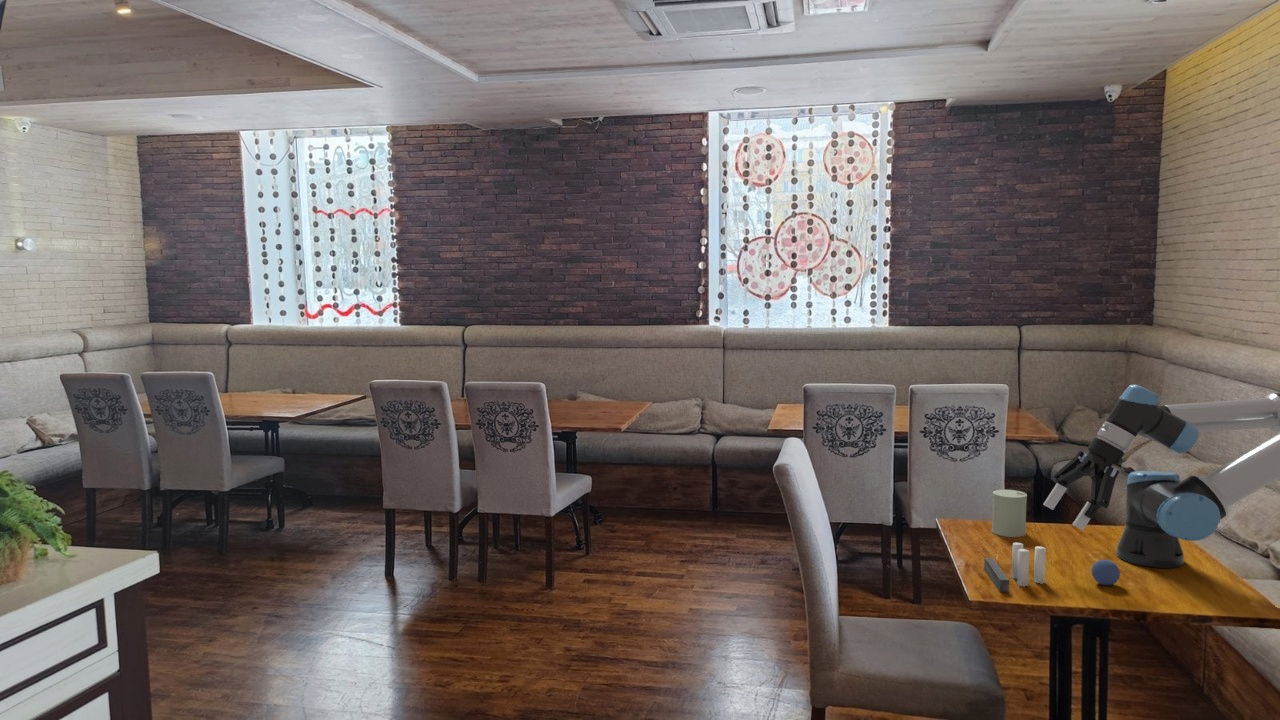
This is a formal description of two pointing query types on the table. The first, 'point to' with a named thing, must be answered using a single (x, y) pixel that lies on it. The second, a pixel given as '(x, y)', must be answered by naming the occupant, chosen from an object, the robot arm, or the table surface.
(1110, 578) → the ball
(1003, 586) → the back wall
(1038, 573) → the pin front
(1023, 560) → the pin back left
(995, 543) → the table surface
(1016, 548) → the pin back right
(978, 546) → the table surface
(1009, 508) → the can
